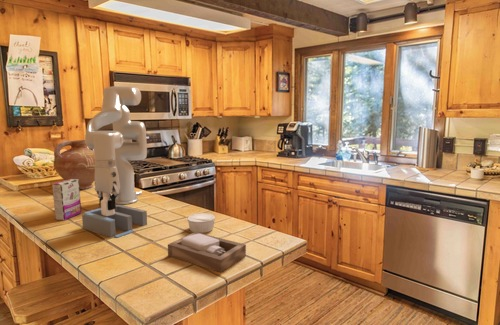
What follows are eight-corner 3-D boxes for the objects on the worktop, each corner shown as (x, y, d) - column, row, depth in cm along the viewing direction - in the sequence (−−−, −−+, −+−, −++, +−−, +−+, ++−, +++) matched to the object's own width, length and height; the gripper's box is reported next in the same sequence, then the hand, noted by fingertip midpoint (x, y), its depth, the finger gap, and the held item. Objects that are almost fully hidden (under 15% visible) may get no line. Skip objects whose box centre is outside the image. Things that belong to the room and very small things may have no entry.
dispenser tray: (195, 242, 124) (195, 231, 123) (245, 255, 113) (245, 244, 112) (168, 255, 112) (167, 244, 112) (221, 272, 101) (221, 260, 100)
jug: (113, 188, 209) (111, 140, 204) (64, 195, 189) (60, 142, 184) (95, 181, 228) (92, 137, 224) (48, 187, 208) (44, 139, 203)
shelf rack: (119, 217, 152) (118, 203, 151) (151, 225, 141) (150, 210, 140) (82, 228, 137) (81, 213, 136) (115, 238, 126) (114, 222, 125)
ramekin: (189, 235, 131) (188, 222, 130) (186, 226, 142) (186, 214, 141) (217, 233, 134) (217, 220, 133) (212, 223, 145) (212, 212, 144)
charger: (213, 263, 104) (180, 251, 113) (232, 256, 111) (200, 245, 120) (214, 249, 104) (181, 237, 112) (233, 242, 111) (201, 232, 120)
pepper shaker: (110, 212, 138) (109, 190, 136) (115, 214, 135) (114, 191, 134) (100, 215, 135) (99, 191, 133) (105, 217, 132) (104, 193, 131)
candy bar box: (72, 212, 158) (70, 178, 155) (81, 213, 157) (79, 179, 155) (54, 220, 147) (51, 183, 145) (64, 220, 146) (61, 184, 144)
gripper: (127, 164, 131) (129, 209, 133) (100, 160, 139) (102, 203, 142) (110, 166, 124) (113, 214, 127) (83, 162, 133) (86, 207, 136)
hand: (107, 208), depth 134 cm, fingers closed on pepper shaker, 4 cm apart
